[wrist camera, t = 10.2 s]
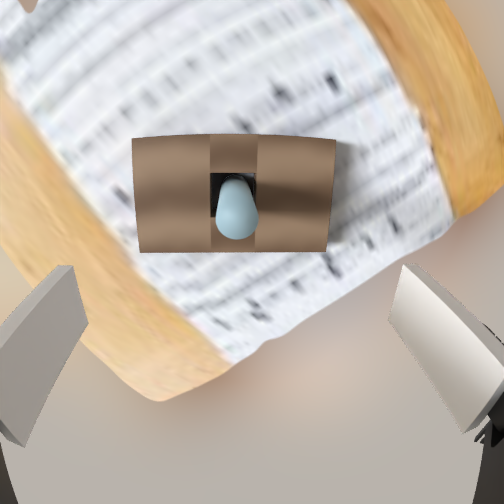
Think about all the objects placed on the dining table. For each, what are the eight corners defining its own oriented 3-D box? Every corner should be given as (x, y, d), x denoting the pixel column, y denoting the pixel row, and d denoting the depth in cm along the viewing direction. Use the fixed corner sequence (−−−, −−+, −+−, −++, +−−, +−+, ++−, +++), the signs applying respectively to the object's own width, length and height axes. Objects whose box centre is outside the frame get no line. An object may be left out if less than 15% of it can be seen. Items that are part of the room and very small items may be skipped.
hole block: (141, 137, 29) (131, 138, 25) (325, 138, 30) (336, 139, 27) (148, 241, 33) (139, 252, 30) (317, 240, 35) (325, 252, 31)
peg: (221, 174, 31) (216, 197, 20) (249, 175, 31) (260, 199, 20) (220, 201, 32) (215, 238, 21) (247, 202, 32) (257, 240, 21)
